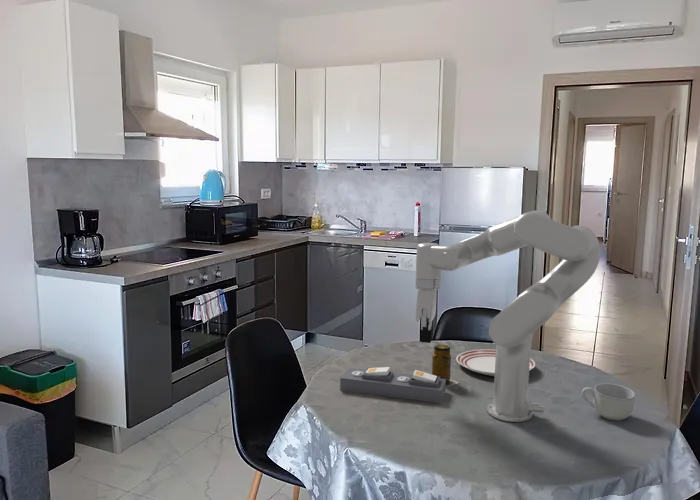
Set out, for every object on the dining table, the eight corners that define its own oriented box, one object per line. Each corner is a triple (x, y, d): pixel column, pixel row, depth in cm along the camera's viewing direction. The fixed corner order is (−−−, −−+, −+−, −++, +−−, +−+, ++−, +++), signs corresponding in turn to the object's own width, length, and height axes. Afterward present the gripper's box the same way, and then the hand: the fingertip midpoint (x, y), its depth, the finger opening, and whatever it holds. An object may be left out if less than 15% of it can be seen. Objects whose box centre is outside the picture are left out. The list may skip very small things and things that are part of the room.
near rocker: (436, 379, 182) (437, 375, 181) (434, 384, 177) (435, 380, 177) (414, 373, 183) (415, 369, 183) (412, 378, 179) (412, 374, 179)
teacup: (634, 413, 169) (636, 387, 168) (631, 427, 160) (633, 400, 159) (583, 403, 176) (585, 378, 175) (577, 416, 167) (579, 389, 166)
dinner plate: (440, 366, 208) (440, 357, 207) (484, 351, 226) (485, 343, 225) (506, 388, 188) (507, 379, 187) (549, 370, 206) (550, 361, 205)
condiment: (440, 376, 198) (441, 342, 196) (459, 383, 191) (461, 348, 190) (425, 380, 193) (426, 345, 192) (444, 388, 187) (446, 352, 185)
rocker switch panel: (445, 391, 184) (445, 375, 183) (441, 403, 175) (441, 386, 174) (349, 379, 193) (349, 364, 192) (340, 390, 184) (340, 374, 183)
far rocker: (390, 370, 186) (389, 366, 185) (387, 375, 181) (386, 371, 181) (369, 371, 188) (368, 367, 188) (366, 376, 183) (365, 372, 183)
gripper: (419, 278, 184) (418, 334, 187) (411, 287, 170) (409, 347, 173) (443, 280, 182) (441, 336, 185) (436, 289, 168) (434, 350, 171)
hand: (425, 341), depth 179 cm, fingers closed
